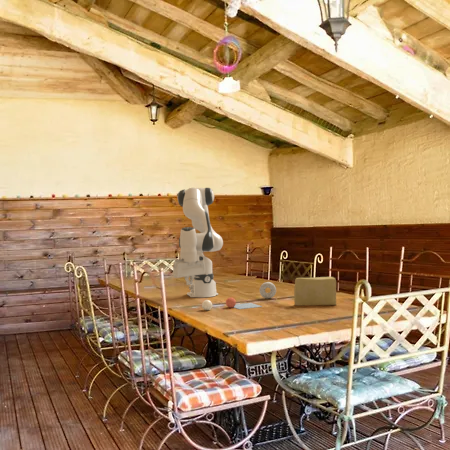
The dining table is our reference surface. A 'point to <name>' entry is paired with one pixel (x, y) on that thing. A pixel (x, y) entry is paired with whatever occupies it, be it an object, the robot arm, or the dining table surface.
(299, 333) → the dining table surface
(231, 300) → the red ball
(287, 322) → the dining table surface
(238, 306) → the mark
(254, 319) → the dining table surface
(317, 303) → the olive tan box
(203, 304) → the cue ball
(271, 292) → the donut
